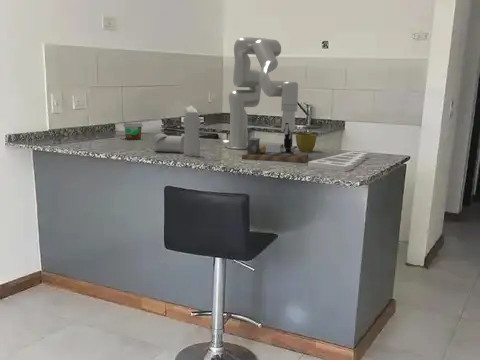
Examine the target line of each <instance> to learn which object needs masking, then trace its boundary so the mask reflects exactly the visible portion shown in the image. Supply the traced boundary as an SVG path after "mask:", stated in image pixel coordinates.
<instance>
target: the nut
mask: <svg viewBox="0 0 480 360" xmlns="http://www.w3.org/2000/svg"><path fill="white" fill-rule="evenodd" d="M258 152H259V153H261V154H264V153H266V145H264V144H259V147H258Z"/></svg>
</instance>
